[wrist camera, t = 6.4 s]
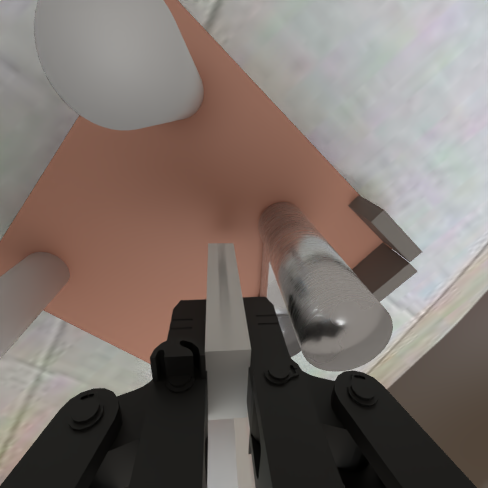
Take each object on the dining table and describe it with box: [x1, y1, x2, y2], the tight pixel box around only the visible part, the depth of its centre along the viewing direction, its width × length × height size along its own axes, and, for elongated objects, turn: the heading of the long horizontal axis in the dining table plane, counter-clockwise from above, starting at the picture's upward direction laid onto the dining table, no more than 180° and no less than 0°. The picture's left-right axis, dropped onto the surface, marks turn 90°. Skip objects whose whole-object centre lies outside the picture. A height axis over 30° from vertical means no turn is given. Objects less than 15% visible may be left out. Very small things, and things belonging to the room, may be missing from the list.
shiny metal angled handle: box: [258, 202, 393, 371], centre depth 15 cm, size 10×4×10 cm, turn 178°
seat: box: [0, 0, 422, 488], centre depth 15 cm, size 20×20×12 cm
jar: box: [234, 412, 256, 488], centre depth 24 cm, size 9×8×12 cm
